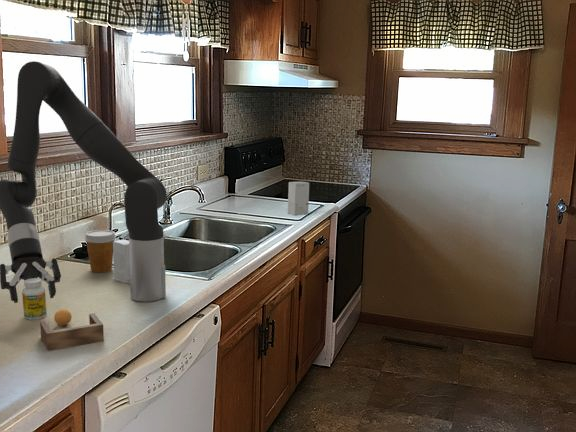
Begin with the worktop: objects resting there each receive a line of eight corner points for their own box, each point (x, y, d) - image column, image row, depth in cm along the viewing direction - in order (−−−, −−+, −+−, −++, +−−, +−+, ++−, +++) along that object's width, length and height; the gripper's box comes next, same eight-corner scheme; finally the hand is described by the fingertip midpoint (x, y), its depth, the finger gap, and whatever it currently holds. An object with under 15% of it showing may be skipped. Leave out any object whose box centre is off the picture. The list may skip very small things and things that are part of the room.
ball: (71, 321, 159) (70, 306, 158) (72, 327, 155) (71, 311, 155) (54, 322, 158) (53, 307, 157) (54, 328, 154) (53, 313, 153)
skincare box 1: (137, 280, 192) (136, 242, 190) (126, 283, 189) (125, 244, 187) (124, 276, 196) (123, 238, 193) (113, 279, 193) (112, 241, 190)
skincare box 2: (294, 215, 293) (295, 183, 289) (286, 213, 297) (287, 181, 294) (309, 213, 297) (310, 182, 294) (301, 211, 302) (302, 180, 299)
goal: (94, 328, 155) (94, 313, 154) (103, 340, 148) (103, 324, 147) (40, 337, 148) (40, 321, 148) (47, 350, 142) (46, 333, 141)
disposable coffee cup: (91, 265, 207) (90, 229, 205) (120, 266, 207) (119, 230, 204) (81, 273, 198) (79, 236, 195) (111, 274, 197) (110, 237, 195)
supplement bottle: (43, 311, 165) (41, 275, 163) (48, 318, 161) (46, 281, 159) (21, 315, 162) (19, 279, 160) (26, 321, 158) (24, 284, 156)
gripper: (-5, 239, 161) (4, 296, 153) (54, 234, 168) (65, 288, 160) (-6, 254, 166) (3, 310, 159) (51, 248, 173) (62, 301, 166)
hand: (34, 299), depth 160 cm, fingers open, 8 cm apart
